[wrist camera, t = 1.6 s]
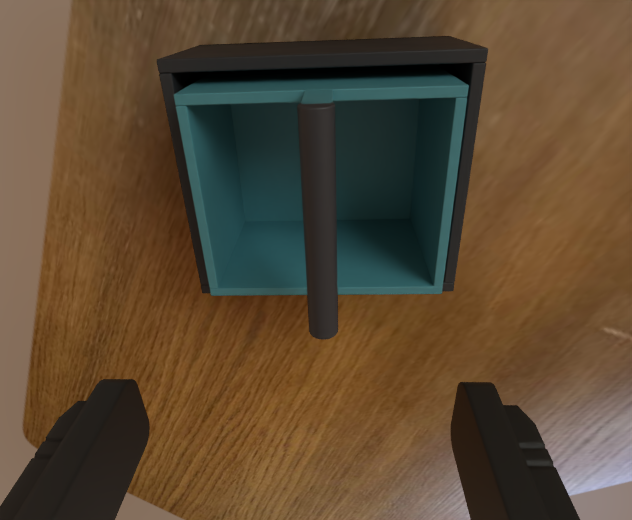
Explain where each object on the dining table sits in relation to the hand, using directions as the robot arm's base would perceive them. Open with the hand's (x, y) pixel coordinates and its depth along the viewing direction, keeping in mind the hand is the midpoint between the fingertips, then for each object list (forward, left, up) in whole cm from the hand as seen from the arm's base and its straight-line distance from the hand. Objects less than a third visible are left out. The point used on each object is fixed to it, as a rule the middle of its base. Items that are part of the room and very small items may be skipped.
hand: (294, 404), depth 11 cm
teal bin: (0, 0, -21) cm, 21 cm away
